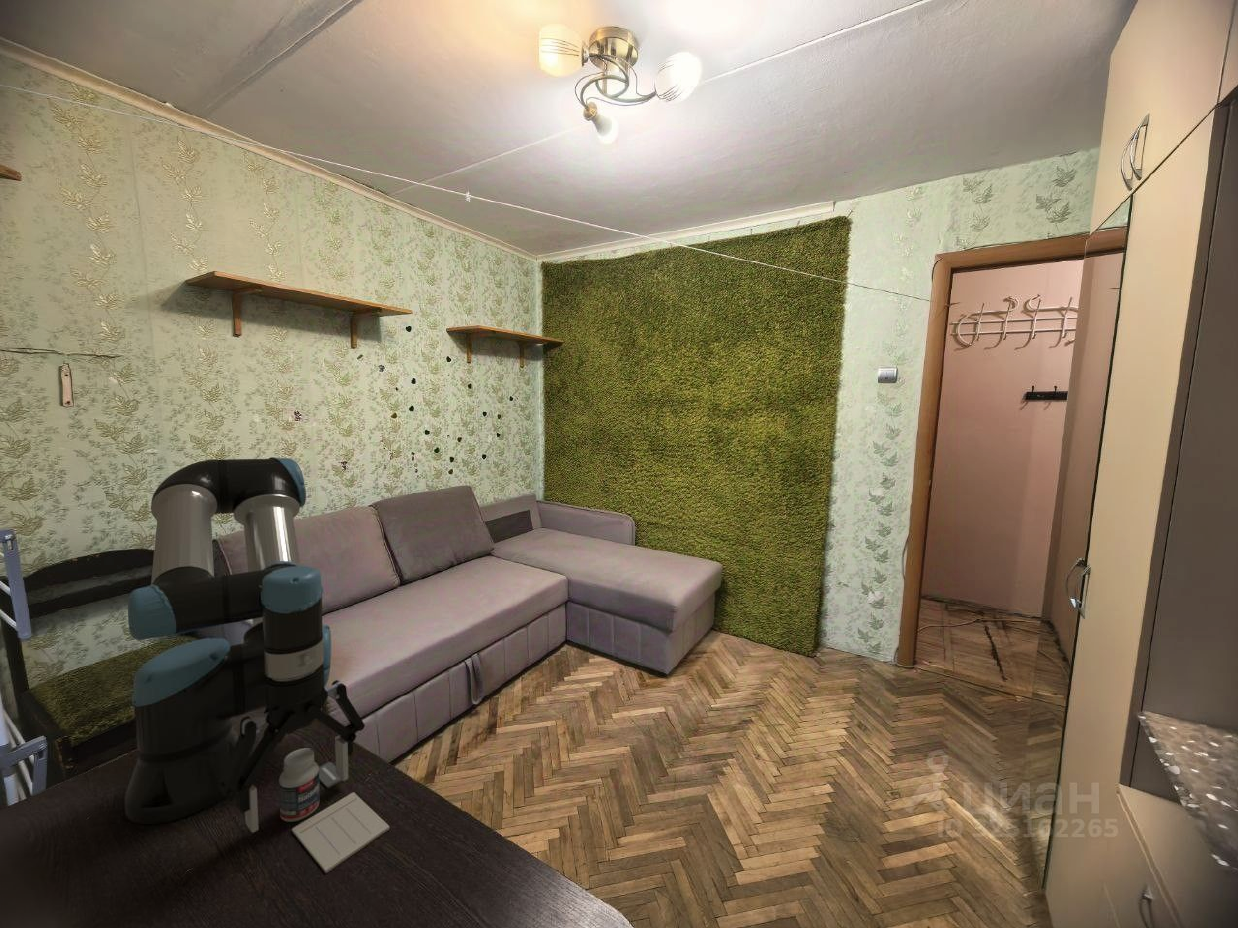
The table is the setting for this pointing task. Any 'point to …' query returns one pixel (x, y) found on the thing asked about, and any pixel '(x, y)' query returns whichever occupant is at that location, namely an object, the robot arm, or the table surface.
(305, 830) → the paper
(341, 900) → the table surface
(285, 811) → the pill bottle
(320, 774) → the grey striped flat block
